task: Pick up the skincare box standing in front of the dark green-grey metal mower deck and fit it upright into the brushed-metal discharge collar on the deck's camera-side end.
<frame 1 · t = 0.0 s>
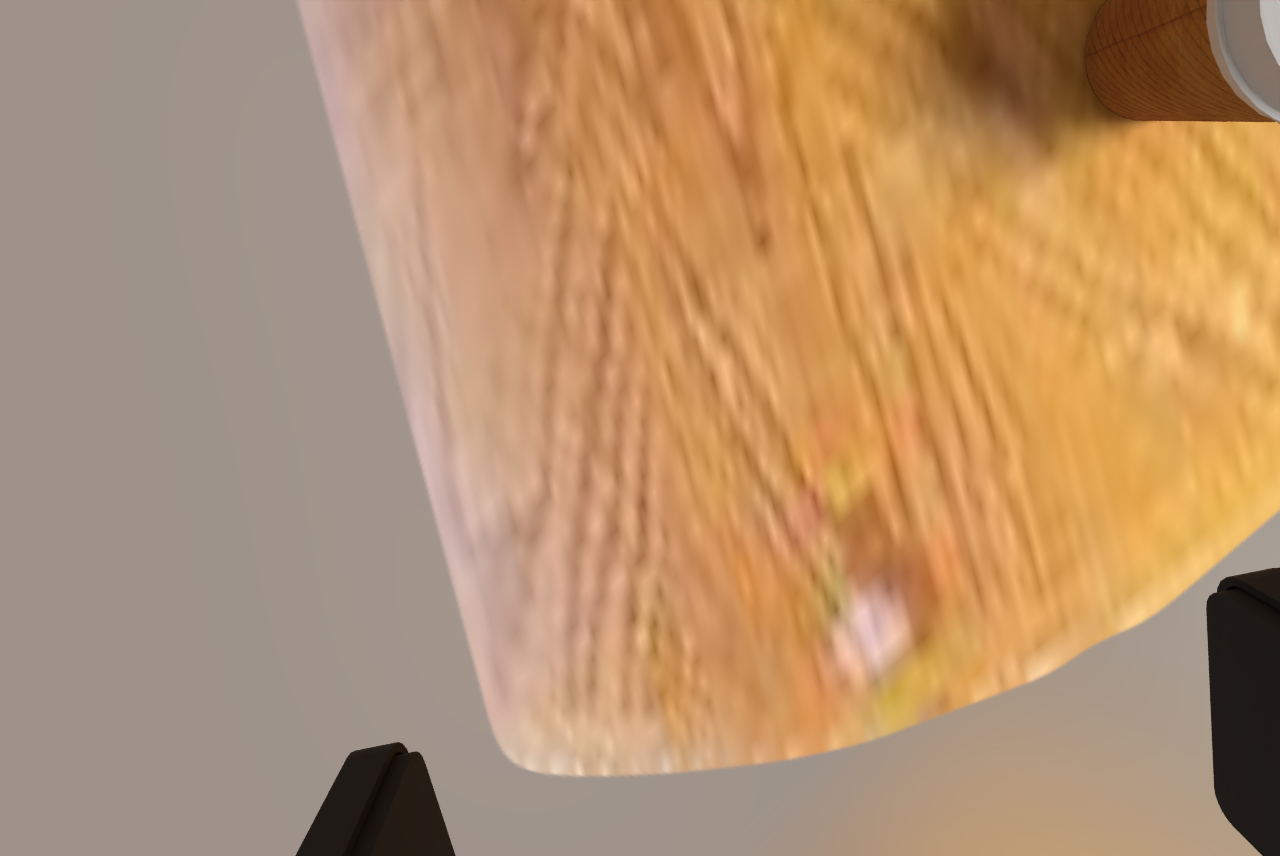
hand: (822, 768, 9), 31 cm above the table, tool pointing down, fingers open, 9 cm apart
disposable coffee cup: (1150, 48, 37), on the table
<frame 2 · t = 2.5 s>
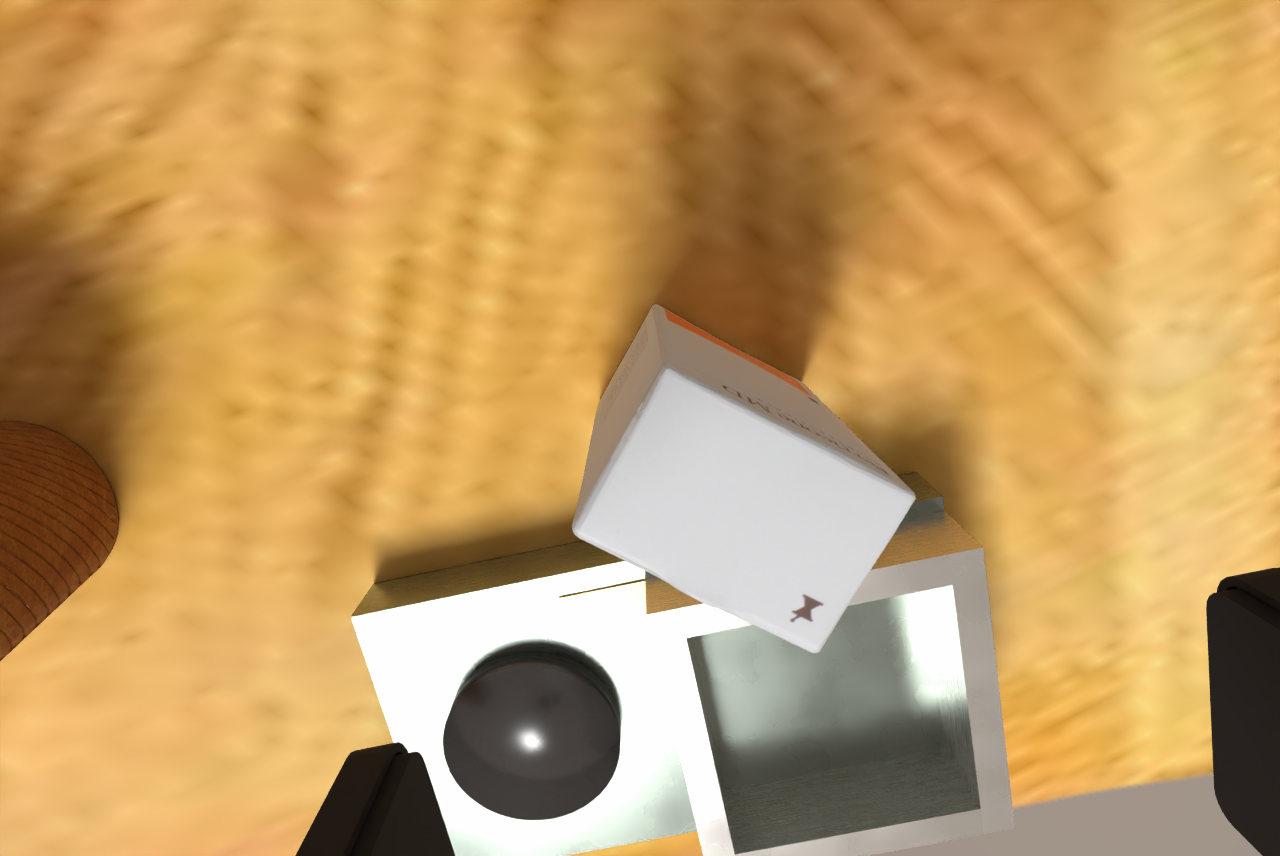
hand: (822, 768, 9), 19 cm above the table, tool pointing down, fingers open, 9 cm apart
disposable coffee cup: (33, 504, 29), on the table
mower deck: (671, 661, 30), on the table
skincare box: (697, 390, 28), on the table
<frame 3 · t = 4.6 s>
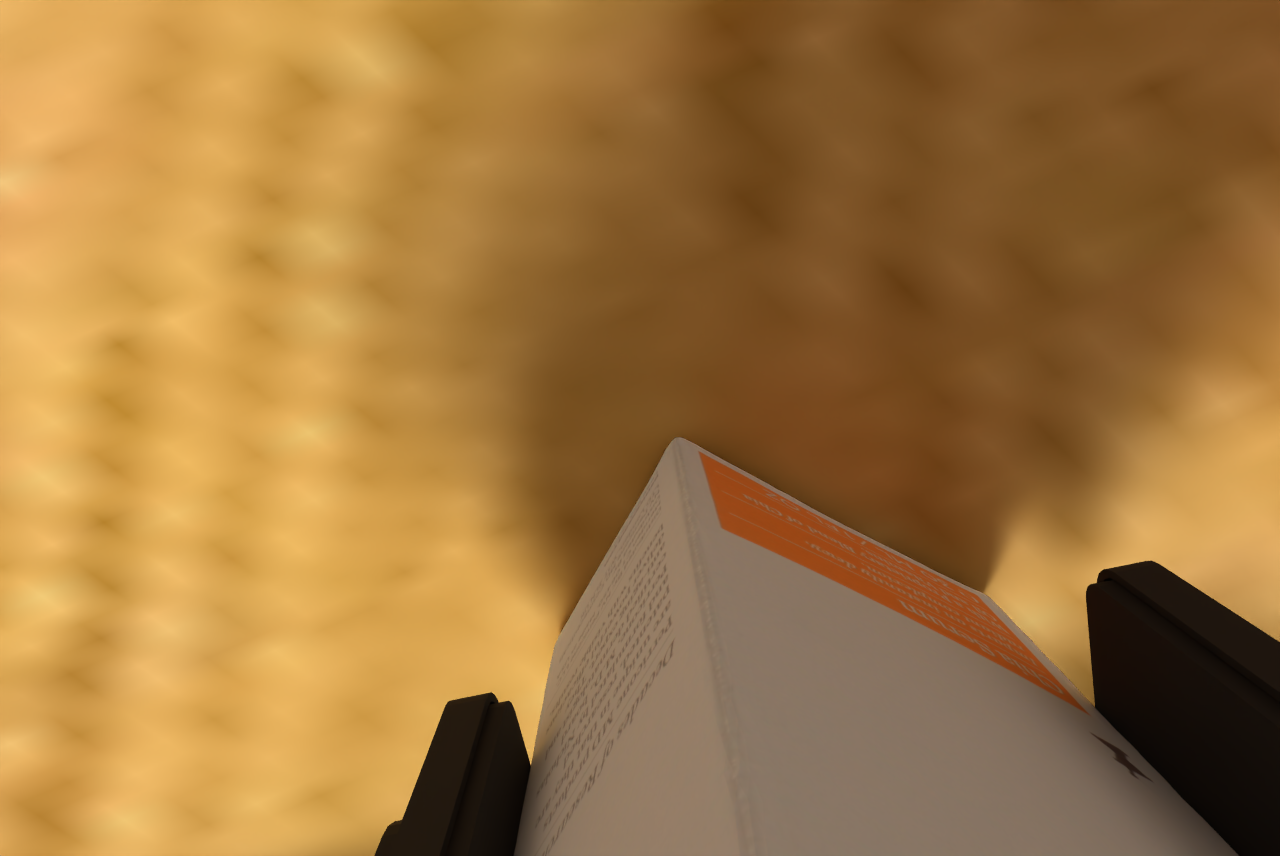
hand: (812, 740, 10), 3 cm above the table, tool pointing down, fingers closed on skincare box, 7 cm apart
skincare box: (765, 608, 13), on the table, touching gripper
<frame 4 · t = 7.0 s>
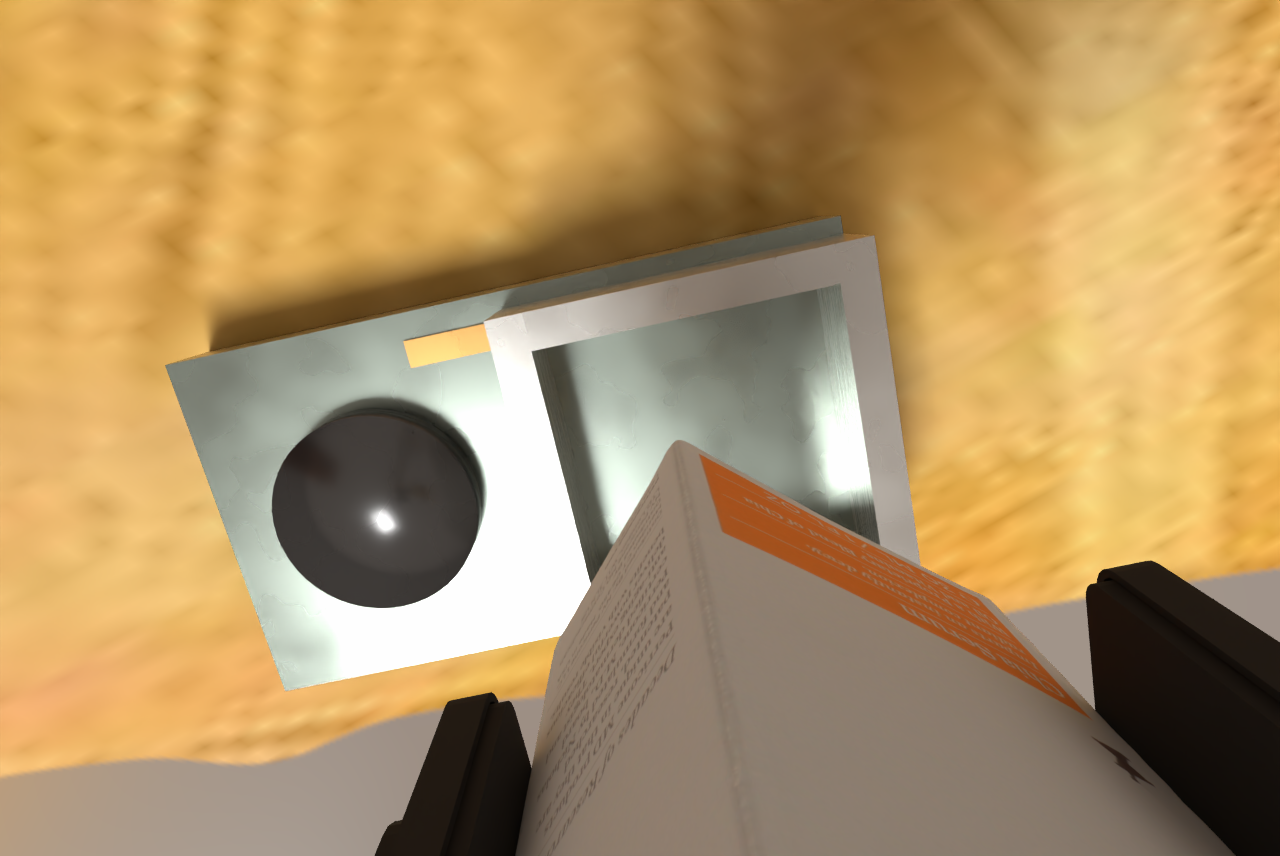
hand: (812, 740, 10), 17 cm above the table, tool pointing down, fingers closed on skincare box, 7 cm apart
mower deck: (550, 447, 27), on the table
skincare box: (765, 610, 13), point 14 cm above the table, touching gripper
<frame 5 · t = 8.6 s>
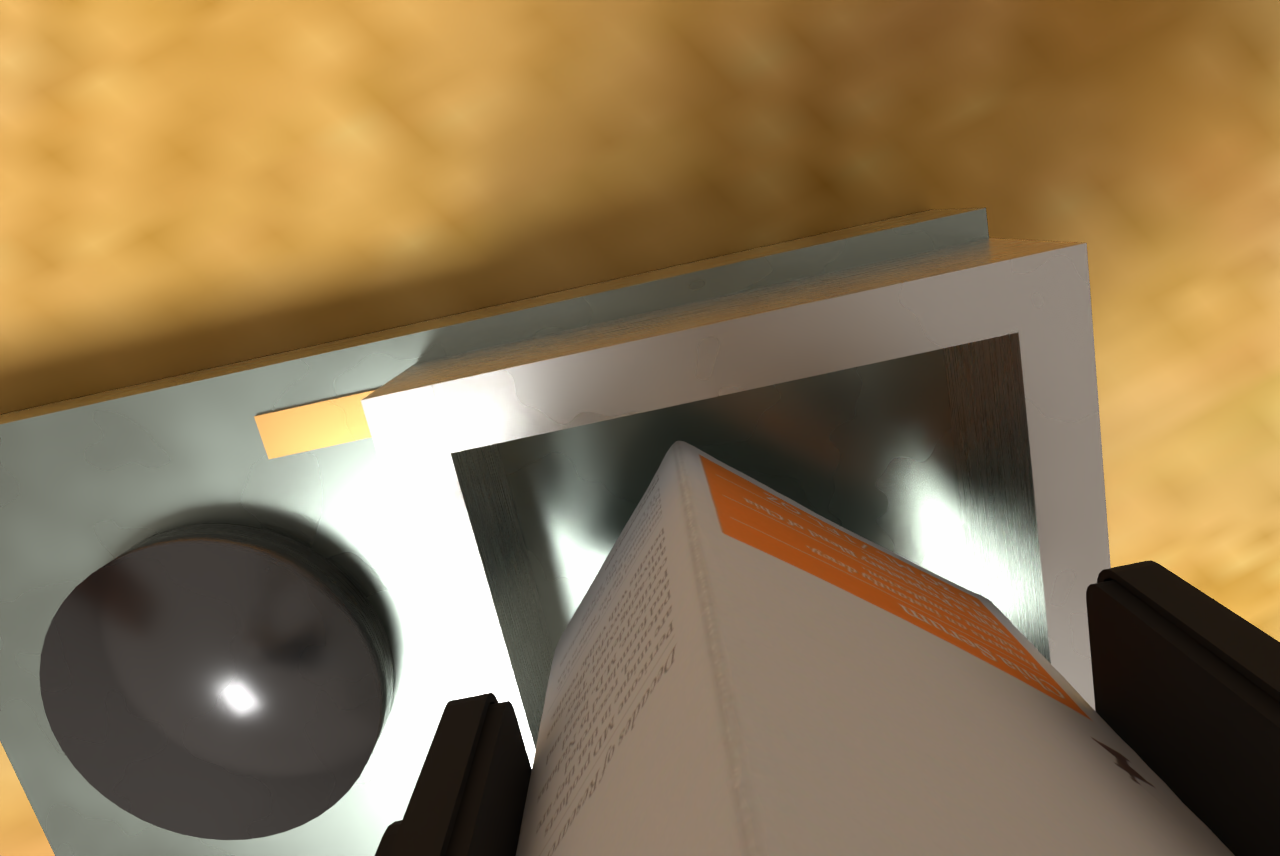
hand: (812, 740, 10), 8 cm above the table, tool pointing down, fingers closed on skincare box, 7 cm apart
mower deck: (509, 563, 18), on the table
skincare box: (765, 611, 13), point 4 cm above the table, touching gripper
when the fingers open (7 cm above the table, at t = 9.7 s): skincare box drops 1 cm, resting on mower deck.
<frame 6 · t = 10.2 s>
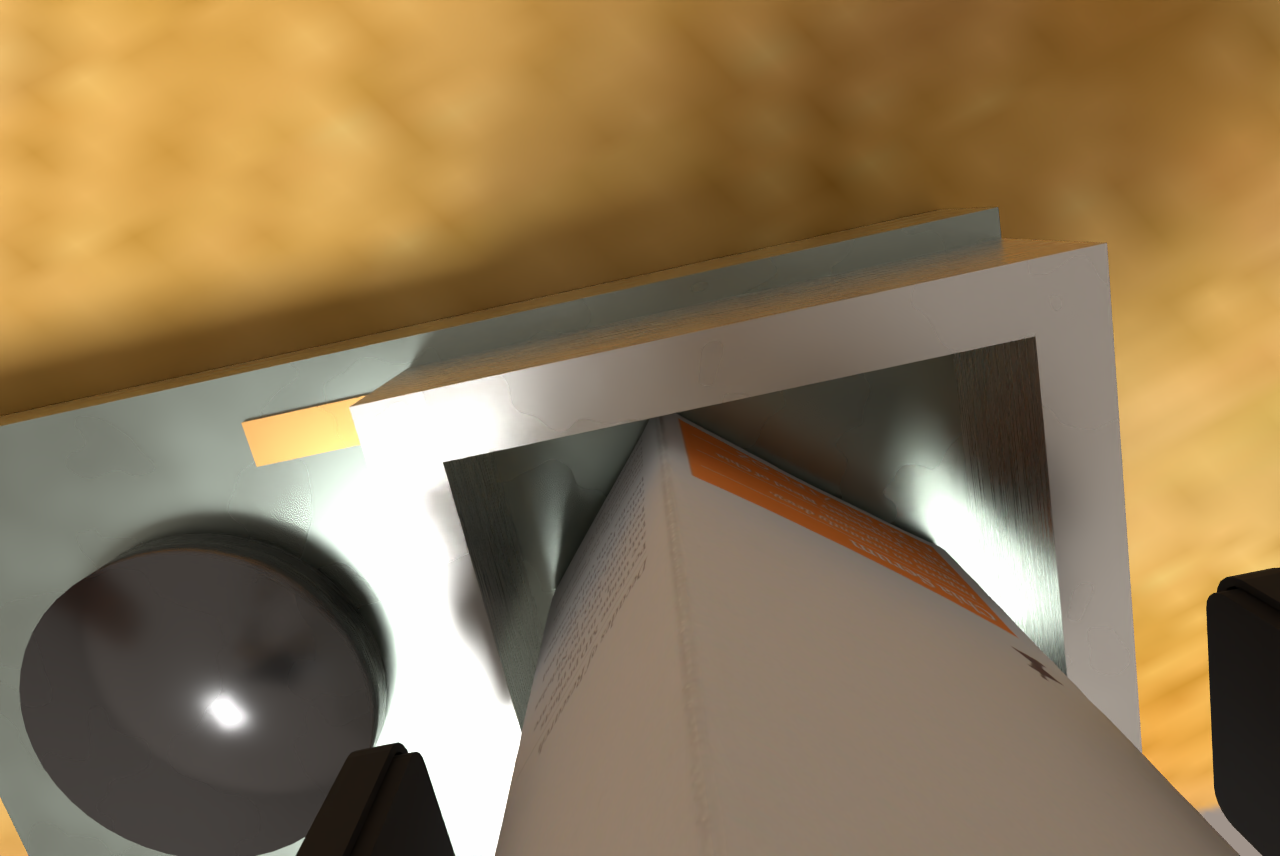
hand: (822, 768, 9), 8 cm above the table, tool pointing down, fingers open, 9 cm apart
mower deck: (505, 572, 17), on the table
skincare box: (742, 563, 15), point 2 cm above the table, touching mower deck
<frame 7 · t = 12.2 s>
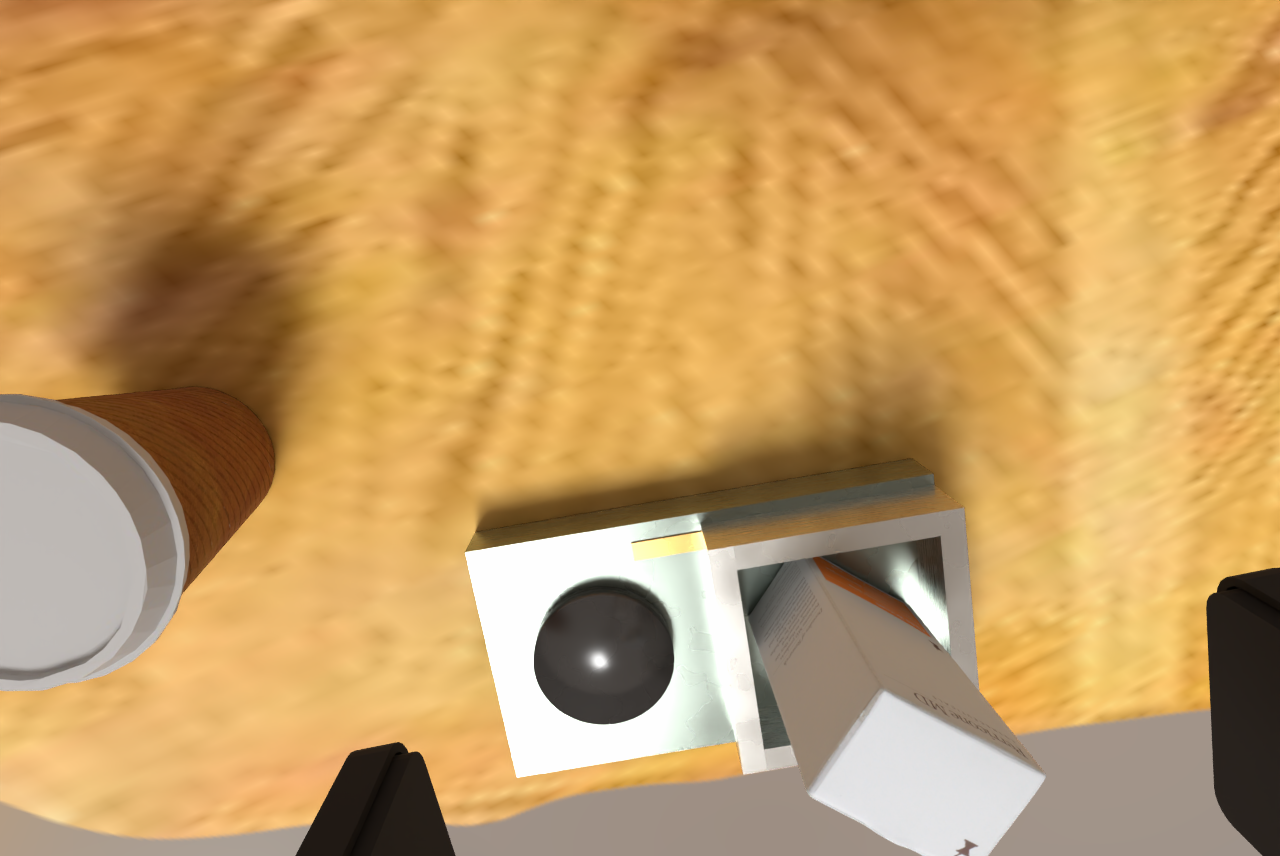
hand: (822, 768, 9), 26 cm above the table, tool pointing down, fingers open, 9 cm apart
disposable coffee cup: (205, 455, 36), on the table
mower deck: (710, 606, 38), on the table
skincare box: (825, 607, 35), point 2 cm above the table, touching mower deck
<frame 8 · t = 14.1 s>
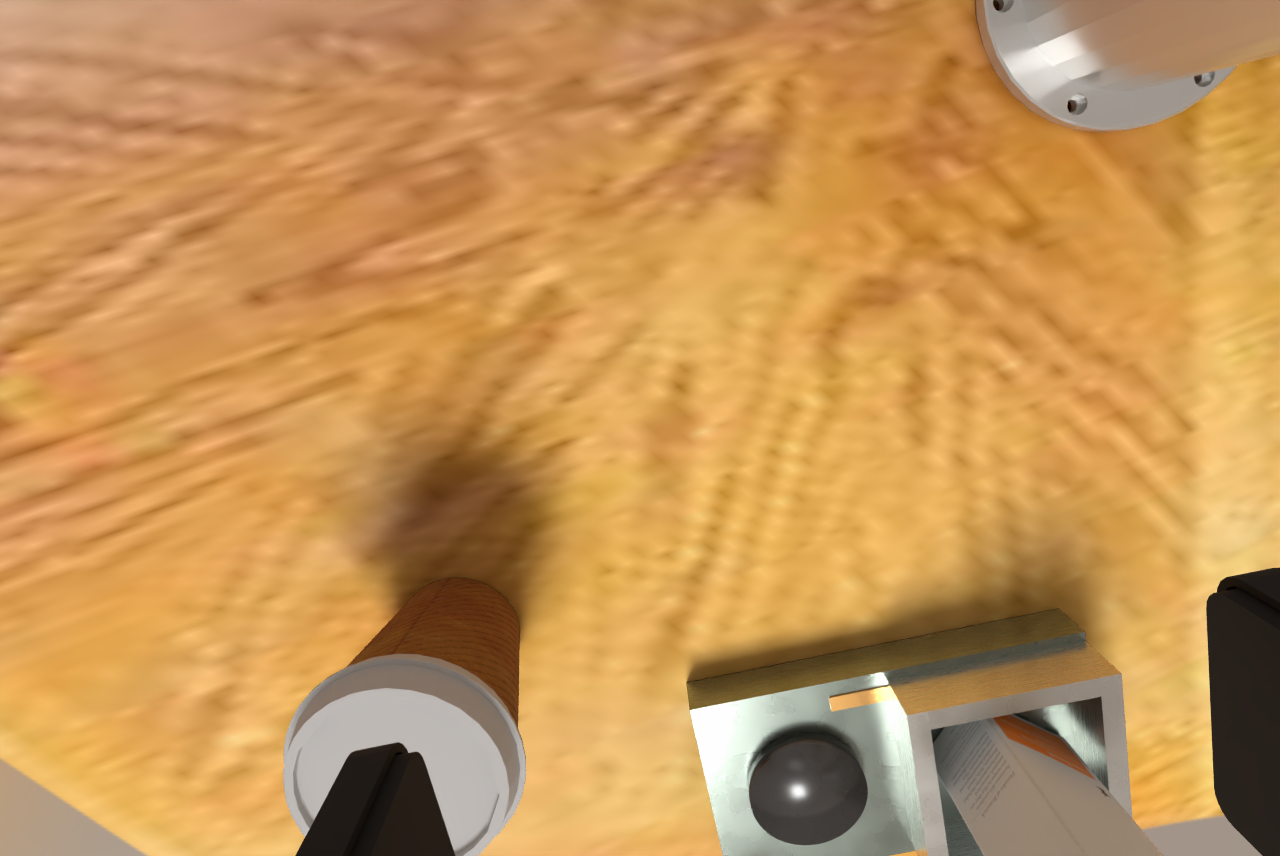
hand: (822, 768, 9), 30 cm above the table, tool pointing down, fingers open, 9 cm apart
disposable coffee cup: (461, 630, 43), on the table
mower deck: (885, 734, 44), on the table
skincare box: (991, 740, 42), point 2 cm above the table, touching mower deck
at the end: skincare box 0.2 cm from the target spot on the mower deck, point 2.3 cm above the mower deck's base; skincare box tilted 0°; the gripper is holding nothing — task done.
